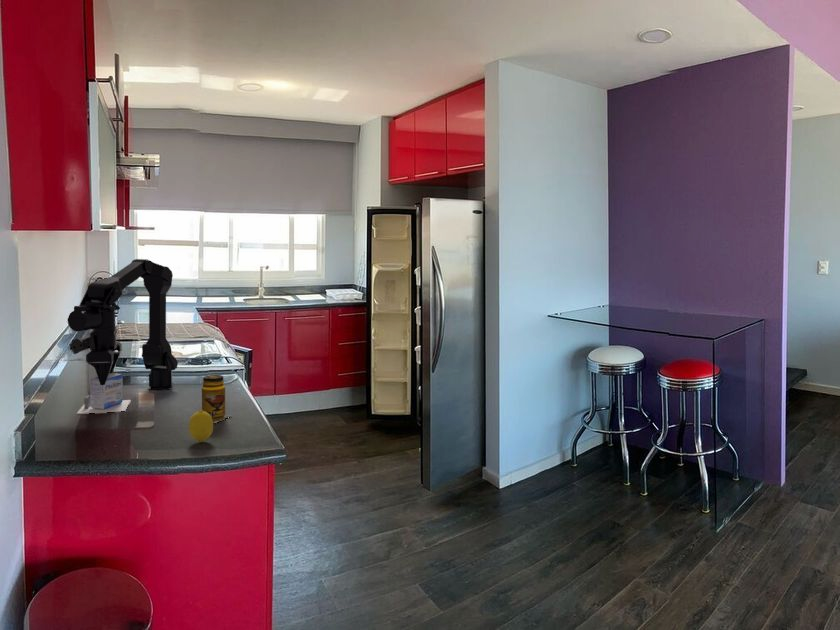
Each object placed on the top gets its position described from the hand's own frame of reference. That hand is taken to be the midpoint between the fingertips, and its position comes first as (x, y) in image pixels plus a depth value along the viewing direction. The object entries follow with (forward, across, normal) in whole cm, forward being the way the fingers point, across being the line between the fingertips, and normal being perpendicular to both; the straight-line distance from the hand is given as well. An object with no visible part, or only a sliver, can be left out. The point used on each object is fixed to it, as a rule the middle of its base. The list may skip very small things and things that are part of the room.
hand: (105, 381), depth 172 cm
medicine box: (+7, 0, 0) cm, 7 cm away
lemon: (+8, +37, +27) cm, 47 cm away
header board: (+8, 0, 0) cm, 8 cm away
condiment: (+8, +17, +29) cm, 35 cm away
